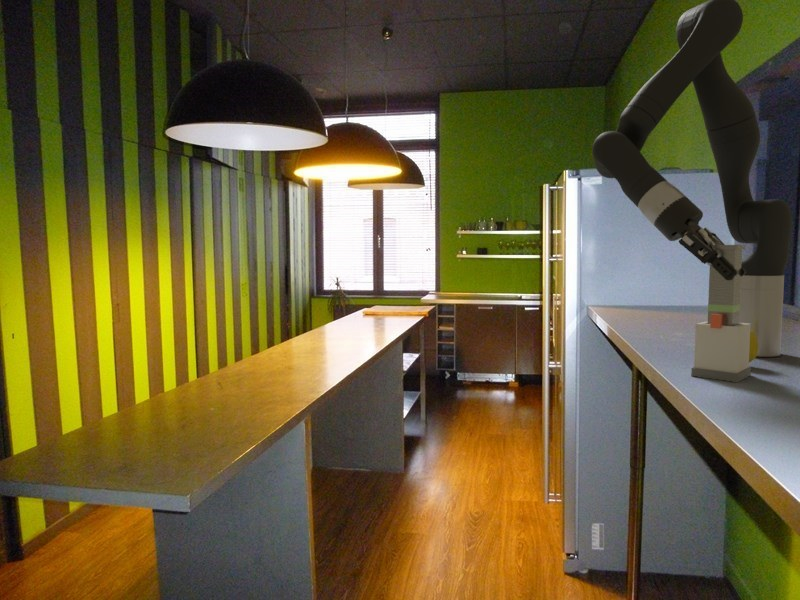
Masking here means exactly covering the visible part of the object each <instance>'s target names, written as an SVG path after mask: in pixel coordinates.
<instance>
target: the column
mask: <svg viewBox="0 0 800 600" xmlns="http://www.w3.org/2000/svg"><path fill="white" fill-rule="evenodd" d="M714 249H715V250H717V251H718V252H719V253H720V254H721V255H722V257H721V258H724V259H725V260H726V261H728V262H729V263H730V264H731V265H732V266H733V267H734V268H735V269H736V270H737V271H738V274H737V275H736V276H735V277H734V278H732V279H731V280H726V279H725V278H724V277H723V276H722V275H721V274H720V273H719V272H718V271H717V270H716V269H715V268H713V267H712V266H713V265H712V266H709V279H708V281H709V282H708V300H707V301H708V302H707V303H708V304H707V321H708V324H710V323H711V314H722V325H725V326H737V325H739V311H740V287H741V264H742V260H743V259H742V257H743V250H746V244H725V245H714Z"/></svg>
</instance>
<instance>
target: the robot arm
mask: <svg viewBox="0 0 800 600" xmlns="http://www.w3.org/2000/svg"><path fill="white" fill-rule="evenodd" d="M743 21H744V13H743V9H742V7H741V5H740V3H739V2H738V1H736V0H707V1H704V2H702V3H700V4H698V5H695V6H694V7H691V8H689V9H687V10H686V11H685V12H683V14H681V16H680V17H679V19H678V21H677V25H676V27H675V29H676V30H675V36H676V37H675V38H676V42H677V45H678V48H679V50H678V51H677V52H676V53H675V54H674V56H673V57H672V58H671V59H670V60H669V61H668V62H667V63H666V64H665V65H663V67H661V68H660V69H659V70H657V72H656V73H655V74H654V75H652V77H651V78H650V79H649V80H648V81H646V82H645V83H644V84H643V86H642V87H641V88H640V89H639V90H638V91H637V92H636V94H634V96H633V97H632V98H631V100H630V102H629V103H628V104H627V106H626V107H625V108H624V110H623V111H622V112H621V114H620V117H619V120H618V125H617V128H616V130H614V131H613V130H608V131H605V132H602V133H600V134H599V135H598V136H597V137H596V138H595V139H594V141H593V144H592V146H591V147H592V148H591V149H592V150H591V153H592V157H593V161H594V166H595V168H596V170H597V172H598V173H599V174H600V175H601V176H602V177H603V178H606V179H615V180H616V181H617V183H618V184H619V185H620V186H619V187H620V188H621V190H622V192H623V193H624V194H625V196H626V197H627V198H628V199H629V200H630V201H631V202H632V203H633V204H634V205H635V206H636V207H637V208H638V210H640V211H641V213H642V215H644V217H645V218H646V219H647V220H648V221H649V222H650V223H651V224H652V225H653V226H654V227H655V228H656V230H658V231H659V232H660V233H661V234H662V235H663V236H664V237H665V238H666V239H667V240H668V241H670V242H675V241H678V242H679V244H680V245H681V246H683V247H684V248H685V249H686V250H687V251H688V252H689V253H690V254H692V255H693V256H694V257H696V258H697V259H698V260H699V261H700V262H701V264H704V265H705V264H707V265H708V266H709V267H710V266H712V265H713V266H712V267H713V268H715V269H716V270H717V271H718V272H719V273H720V274H721V275H722V276H723V277H724V278H725V279H726V280H731V279H732V278H734V277H735V276H736V275H737V274H738V271H737V270H736V269H735V268H734V267H733V266H732V265H731V264H730V263H729V262H728V261H726V260H725V259H724V258H721V257H722V255H721V254H720V253H719V252H718V251H717V250H715V249H714V245H726V243H724V242H723V241H722V240H721V239H720V238H719V237H718V235H717V234H716V233H714V232H712V231H711V230H710V229H709V228H707V227H704V228H703V227H702V226H700V225H699V222H700V221H701V220H702V218H703V216H704V214H703V213H704V212H703V211H702V210H701V209H700V208H699V207H698V206H697V205H696V204H695V203H694V202H692V200H690V199H689V197H687V196H686V195H685V194H684V193H683V192H682V191H681V190H680V189H679V188H677V187H676V186H675V185H674V184H672V183H671V182H670V181H668V180H667V179H666V178H665V177H664V176H663V175H661V174H660V173H659V171H657V170H656V169H655V168H654V167H653V166H652V165H651V164H650V163H649V162H648V160H647V159H646V157H644V156H643V154H642V153H641V151H642V149H643V147H644V145H645V144H646V142H647V139H648V137H649V136H650V134H651V133H652V132H653V131H654V130H655V129H656V127H658V124H660V122H661V121H662V119H663V118H664V117H665V115H666V114H667V113H668V111H669V110H670V109H671V107H672V106H673V105H674V103H675V102H676V101H677V100H678V98H680V96H681V94H683V92H684V91H685V90H686V89H687V88H688V87H689V86H690V85H691V83H692V84H693V87H694V91H695V94H696V97H697V101H698V105H699V108H700V111H701V114H702V118H703V123H704V127H705V130H706V135H707V137H708V138H707V139H708V142H709V145H710V149H711V152H712V156H713V159H714V162H715V166H716V171H717V174H718V179H719V183H720V187H721V192H722V194H721V195H722V199H723V200H722V201H723V206H724V213H725V214H724V215H725V218H726V225H727V228H728V232H729V234H730V235H731V237H732V239H733V240H734V241H735V242H738V243H739V244H756V249H755V251H754V252H753V253H752V254H751V255H749V256H747V257H746V258H743V259H742V264H741V287H740V311H739V323H749V324H751V327H750V330H751V331H752V332H753V333H754V334H755V335H756V337H757V340H758V353H757V355H756V357H765V358H766V357H767V358H769V357H779V356H781V347H782V329H783V313H784V311H783V309H784V290H785V288H784V287H785V271H786V267H787V263H788V261H789V255H790V246H791V237H792V229H793V217H792V211H791V207H790V206H789V204H788V203H787V202H786V201H785V200H783V199H777V198H776V199H775V198H773V199H762V200H761V199H760V200H759V199H758V200H754V199H753V195H752V192H751V185H750V173H751V168H752V166H753V163H754V162H755V158H756V155H757V153H758V150H759V147H760V143H761V131H760V128H759V123H758V119H757V116H756V115H757V114H756V111H755V109H754V106H753V103H752V102H751V100H750V98H749V97H748V96H747V95H746V93H744V91H743V90H742V89H741V88H740V87H739V85H738V84H737V83H736V82H735V81H734V79H733V78H732V77H731V76H730V74H729V72H728V71H727V69H726V66H725V64H724V61H723V57H722V51H724V50H725V48H727V46H729V45H730V43H732V41H734V40H735V38H736V37H737V36H738V35H739V33H740V31H741V28H742V26H743Z"/></svg>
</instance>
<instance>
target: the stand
mask: <svg viewBox="0 0 800 600" xmlns="http://www.w3.org/2000/svg"><path fill="white" fill-rule="evenodd" d="M750 327H751V324H749V323H739V325H737V326H725V325H722V314H711V323H710V324H708V320H706V321H701V322H698V323H695V335H694V337H695V338H694V358H693V359H694V361H693V362H694V363H693V364H694V366H693V367H691V377H694V376H697V377H696V378H701V377H704V378H703V379H709V378H712V379H711V380H716V379H719V380H718V381H723V380H726V381H725V382H730V381H732V382H733V383H739V382H741V381H743V380H745V379H746V378H748V376H749V377H750V375H751V374H752V367H750V365H749V364H750V362H749V349H750ZM744 378H745V379H744Z"/></svg>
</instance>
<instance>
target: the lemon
mask: <svg viewBox="0 0 800 600" xmlns="http://www.w3.org/2000/svg"><path fill="white" fill-rule="evenodd" d="M757 353H758V340H757V337H756V335H755V334H754V333H753V332H752V331H751V330H750V349H749V363H751V362H753V361H754V359H756V358H757V356H756V355H757Z"/></svg>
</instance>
